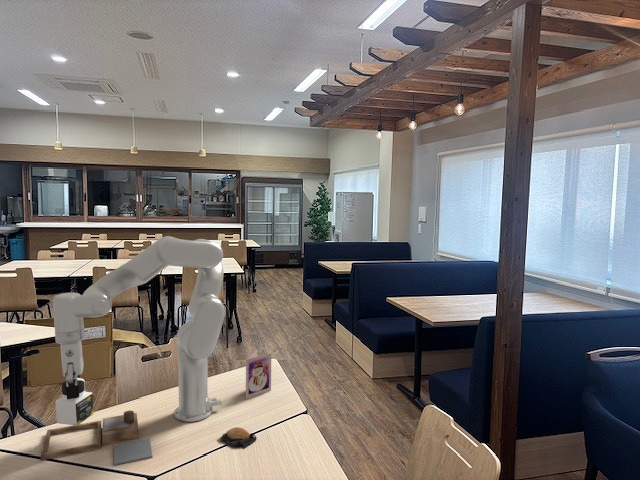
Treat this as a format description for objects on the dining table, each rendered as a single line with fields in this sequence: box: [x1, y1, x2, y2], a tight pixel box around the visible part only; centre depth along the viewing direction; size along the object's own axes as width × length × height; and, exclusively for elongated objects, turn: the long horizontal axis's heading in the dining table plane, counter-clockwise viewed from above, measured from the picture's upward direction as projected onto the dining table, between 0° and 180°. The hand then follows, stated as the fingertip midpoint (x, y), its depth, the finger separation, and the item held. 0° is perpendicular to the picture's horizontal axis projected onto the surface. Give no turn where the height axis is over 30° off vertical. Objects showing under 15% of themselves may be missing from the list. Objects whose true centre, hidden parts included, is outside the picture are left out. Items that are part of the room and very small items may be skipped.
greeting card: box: [245, 349, 272, 400], centre depth 171 cm, size 11×7×15 cm, turn 132°
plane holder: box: [40, 410, 140, 461], centre depth 138 cm, size 26×15×6 cm, turn 115°
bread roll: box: [216, 426, 258, 449], centre depth 139 cm, size 11×8×4 cm
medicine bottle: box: [54, 377, 95, 426], centre depth 135 cm, size 7×7×12 cm
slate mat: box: [113, 437, 154, 466], centre depth 131 cm, size 10×10×1 cm
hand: (73, 392), depth 135 cm, fingers closed on medicine bottle, 6 cm apart
